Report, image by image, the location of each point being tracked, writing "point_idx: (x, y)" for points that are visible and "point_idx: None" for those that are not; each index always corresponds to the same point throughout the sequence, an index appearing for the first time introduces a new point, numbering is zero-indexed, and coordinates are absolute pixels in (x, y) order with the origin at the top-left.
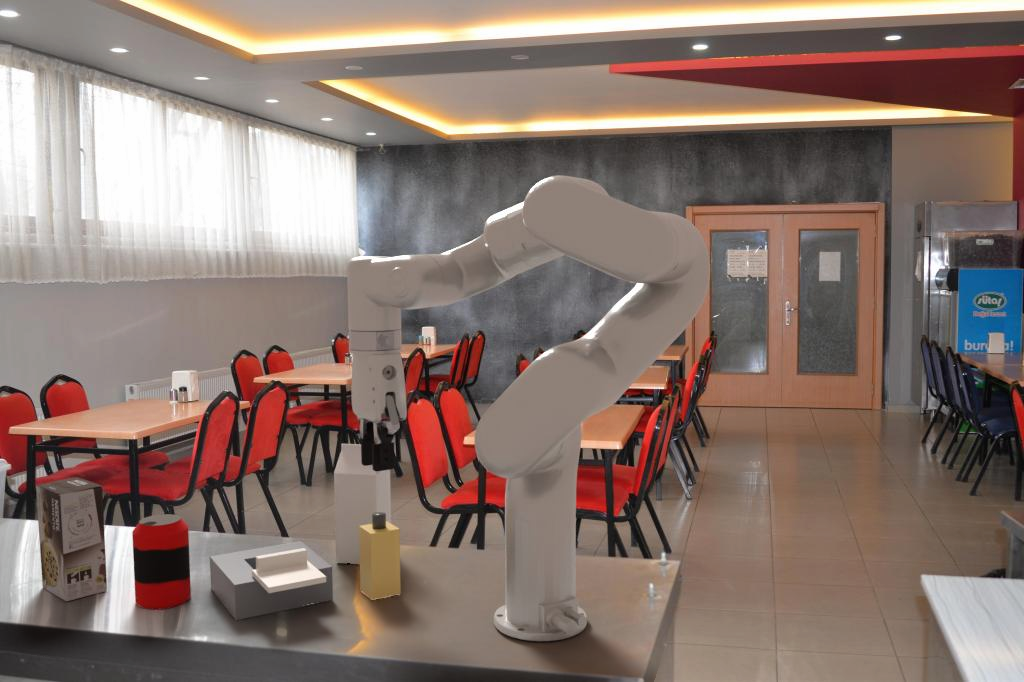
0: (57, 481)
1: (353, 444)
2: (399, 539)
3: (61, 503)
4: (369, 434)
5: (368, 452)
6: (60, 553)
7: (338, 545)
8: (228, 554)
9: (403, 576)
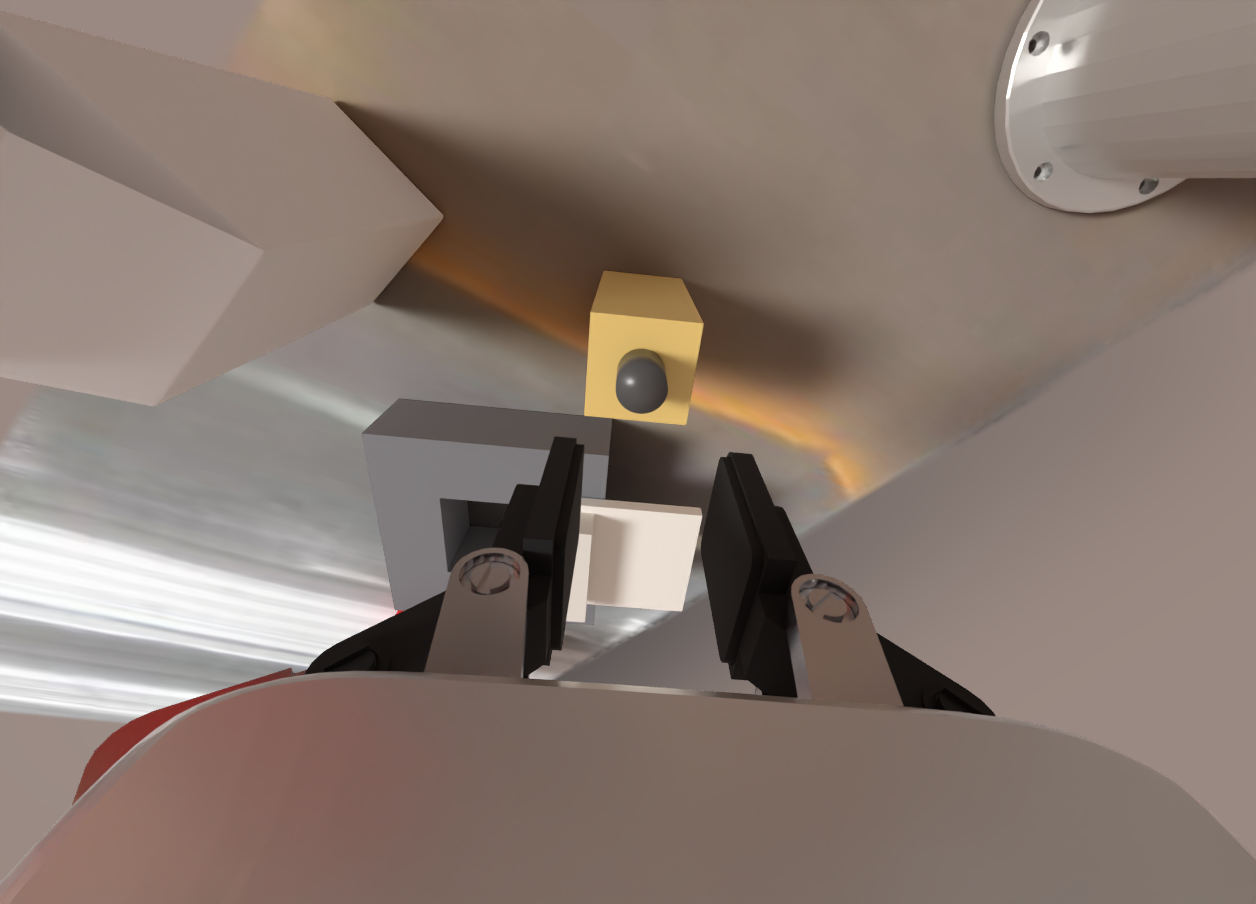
0: None
1: None
2: (698, 314)
3: None
4: (543, 651)
5: (572, 564)
6: None
7: (351, 310)
8: (397, 582)
9: (562, 194)
